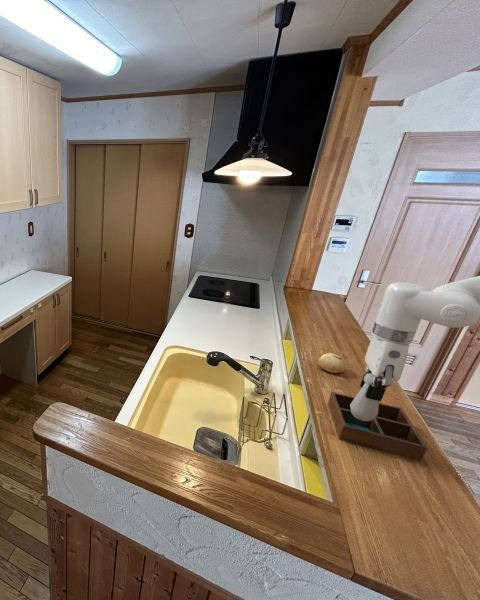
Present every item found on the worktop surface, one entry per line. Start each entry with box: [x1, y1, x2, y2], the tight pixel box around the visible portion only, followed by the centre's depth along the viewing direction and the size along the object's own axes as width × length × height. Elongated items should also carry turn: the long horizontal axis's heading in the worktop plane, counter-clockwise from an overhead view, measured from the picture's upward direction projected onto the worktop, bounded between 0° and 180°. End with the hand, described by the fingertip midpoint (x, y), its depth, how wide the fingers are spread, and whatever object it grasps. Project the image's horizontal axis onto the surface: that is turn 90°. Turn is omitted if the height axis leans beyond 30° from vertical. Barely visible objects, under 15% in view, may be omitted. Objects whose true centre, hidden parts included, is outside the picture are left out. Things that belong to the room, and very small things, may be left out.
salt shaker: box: [350, 373, 383, 421], centre depth 87 cm, size 6×6×13 cm
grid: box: [327, 391, 428, 462], centre depth 92 cm, size 17×17×5 cm
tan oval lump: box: [317, 352, 346, 374], centre depth 121 cm, size 8×8×7 cm
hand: (370, 393), depth 86 cm, fingers closed on salt shaker, 4 cm apart
